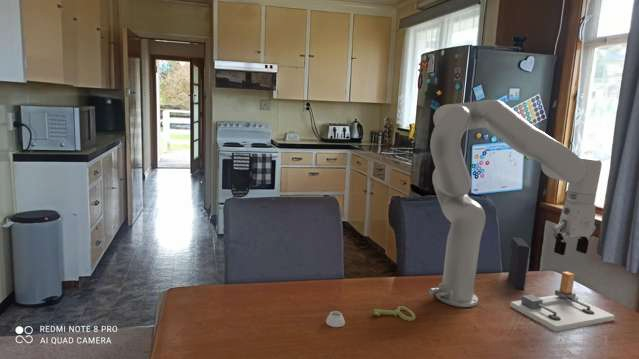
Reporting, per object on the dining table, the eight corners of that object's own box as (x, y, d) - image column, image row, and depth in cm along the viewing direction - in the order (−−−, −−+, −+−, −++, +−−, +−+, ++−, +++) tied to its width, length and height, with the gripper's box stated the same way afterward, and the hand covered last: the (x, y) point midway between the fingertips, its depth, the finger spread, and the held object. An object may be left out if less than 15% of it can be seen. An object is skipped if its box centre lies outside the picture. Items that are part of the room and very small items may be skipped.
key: (370, 315, 126) (370, 308, 126) (405, 309, 132) (405, 302, 132) (385, 327, 120) (385, 320, 119) (421, 320, 126) (422, 313, 125)
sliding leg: (584, 311, 132) (589, 284, 131) (554, 296, 142) (558, 271, 140) (594, 309, 134) (598, 282, 132) (563, 295, 143) (567, 270, 142)
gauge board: (555, 331, 123) (557, 317, 122) (510, 306, 137) (512, 293, 137) (613, 320, 132) (616, 307, 132) (565, 297, 147) (567, 286, 146)
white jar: (347, 327, 118) (340, 318, 123) (348, 316, 118) (340, 308, 122) (330, 329, 116) (323, 320, 121) (330, 318, 116) (323, 310, 120)
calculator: (526, 290, 151) (532, 247, 149) (512, 288, 152) (518, 245, 149) (518, 278, 162) (524, 238, 159) (506, 277, 163) (511, 236, 160)
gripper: (571, 201, 129) (561, 258, 131) (611, 201, 136) (600, 255, 138) (549, 195, 135) (539, 250, 138) (588, 195, 142) (578, 247, 145)
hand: (570, 252), depth 138 cm, fingers open, 9 cm apart
